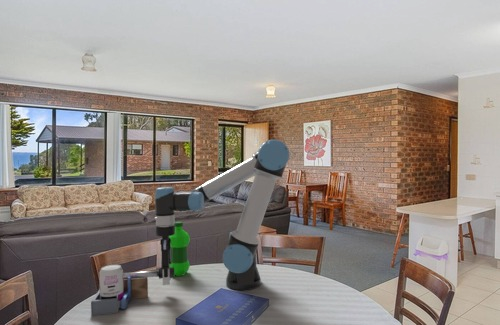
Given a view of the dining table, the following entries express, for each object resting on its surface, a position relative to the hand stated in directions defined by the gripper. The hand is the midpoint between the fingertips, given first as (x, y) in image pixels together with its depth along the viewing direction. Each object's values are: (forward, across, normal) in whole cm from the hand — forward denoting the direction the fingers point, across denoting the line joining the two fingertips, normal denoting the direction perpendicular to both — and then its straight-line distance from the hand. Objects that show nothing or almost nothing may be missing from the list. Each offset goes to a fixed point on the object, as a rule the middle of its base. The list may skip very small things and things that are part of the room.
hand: (166, 282), depth 140 cm
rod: (+5, +5, -8) cm, 10 cm away
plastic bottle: (+5, -25, +4) cm, 26 cm away
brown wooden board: (+5, 0, -15) cm, 15 cm away
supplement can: (+5, +7, -20) cm, 22 cm away
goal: (+5, +7, -21) cm, 23 cm away
